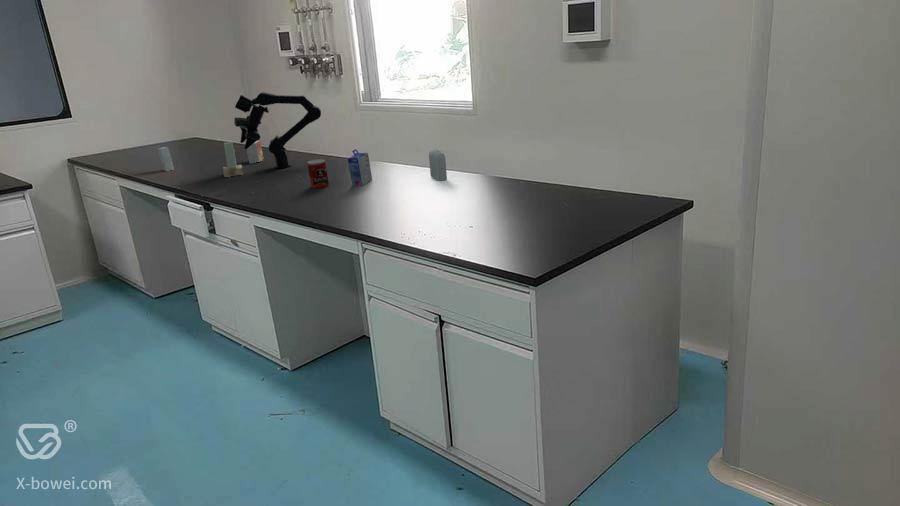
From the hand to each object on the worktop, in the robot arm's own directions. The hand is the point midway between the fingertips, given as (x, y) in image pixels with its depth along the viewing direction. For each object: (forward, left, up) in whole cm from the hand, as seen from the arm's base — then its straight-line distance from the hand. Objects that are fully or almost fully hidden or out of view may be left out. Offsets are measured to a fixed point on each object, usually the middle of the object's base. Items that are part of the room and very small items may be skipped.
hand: (243, 145), depth 311 cm
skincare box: (+50, +19, -13) cm, 55 cm away
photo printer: (-103, -30, -13) cm, 108 cm away
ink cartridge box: (-76, -10, -13) cm, 78 cm away
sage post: (+1, +8, -9) cm, 12 cm away
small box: (+18, -15, -13) cm, 27 cm away
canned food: (-62, +2, -13) cm, 64 cm away
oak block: (+1, +8, -13) cm, 15 cm away
